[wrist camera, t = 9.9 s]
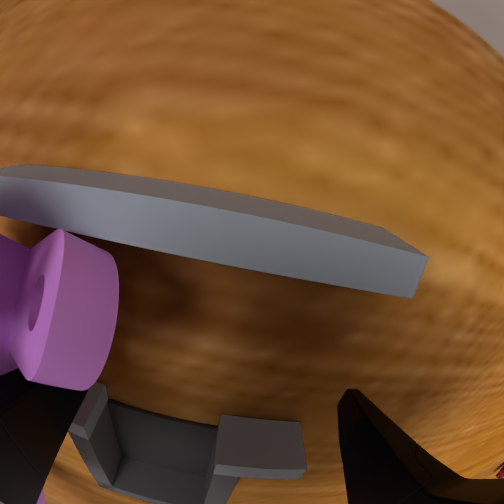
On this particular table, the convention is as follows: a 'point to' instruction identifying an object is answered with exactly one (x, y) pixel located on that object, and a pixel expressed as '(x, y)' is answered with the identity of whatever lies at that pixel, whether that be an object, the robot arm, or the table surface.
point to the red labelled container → (500, 473)
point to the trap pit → (154, 457)
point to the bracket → (57, 310)
